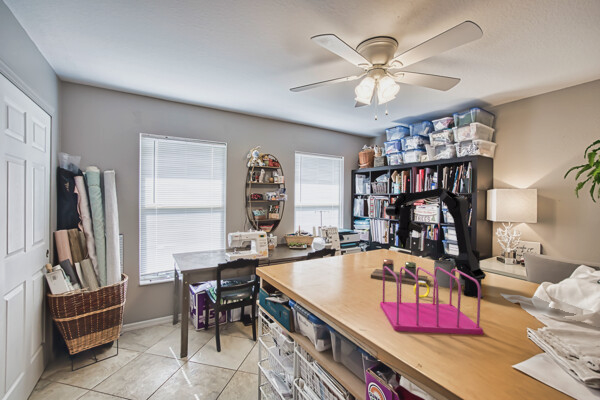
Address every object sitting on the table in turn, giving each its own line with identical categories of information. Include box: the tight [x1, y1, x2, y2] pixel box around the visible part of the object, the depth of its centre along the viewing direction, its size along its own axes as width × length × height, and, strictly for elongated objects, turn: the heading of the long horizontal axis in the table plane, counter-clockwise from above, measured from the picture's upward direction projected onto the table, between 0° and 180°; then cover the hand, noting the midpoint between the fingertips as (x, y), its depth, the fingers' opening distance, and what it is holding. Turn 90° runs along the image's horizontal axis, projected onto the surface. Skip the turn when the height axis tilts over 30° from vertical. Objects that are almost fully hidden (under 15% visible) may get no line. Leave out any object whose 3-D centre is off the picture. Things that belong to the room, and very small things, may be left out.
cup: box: [433, 259, 457, 289], centre depth 119 cm, size 8×8×10 cm
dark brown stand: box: [370, 262, 428, 288], centre depth 126 cm, size 12×24×6 cm, turn 62°
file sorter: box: [379, 266, 484, 336], centre depth 85 cm, size 17×25×16 cm
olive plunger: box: [404, 261, 417, 268], centre depth 124 cm, size 5×5×6 cm
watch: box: [413, 281, 431, 298], centre depth 104 cm, size 6×3×6 cm, turn 94°
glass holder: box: [458, 249, 481, 286], centre depth 119 cm, size 9×14×15 cm, turn 137°
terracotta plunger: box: [382, 258, 394, 265], centre depth 129 cm, size 5×5×6 cm
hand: (404, 248), depth 134 cm, fingers closed
